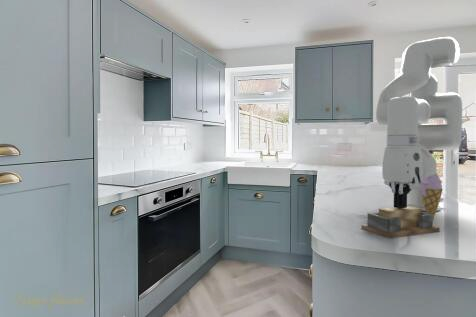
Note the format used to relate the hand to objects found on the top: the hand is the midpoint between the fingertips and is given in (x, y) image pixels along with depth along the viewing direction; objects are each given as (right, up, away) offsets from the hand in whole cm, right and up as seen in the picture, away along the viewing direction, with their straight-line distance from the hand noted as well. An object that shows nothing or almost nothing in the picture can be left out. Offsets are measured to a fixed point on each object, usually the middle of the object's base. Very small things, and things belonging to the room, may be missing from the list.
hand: (400, 207), depth 86 cm
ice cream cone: (+16, -6, +12) cm, 21 cm away
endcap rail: (0, -6, 0) cm, 6 cm away
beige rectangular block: (0, -5, 0) cm, 5 cm away
